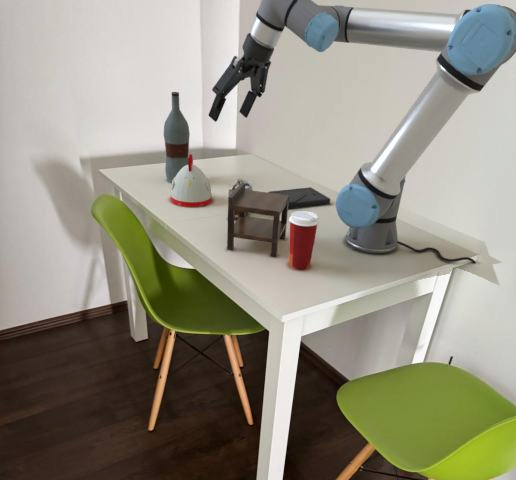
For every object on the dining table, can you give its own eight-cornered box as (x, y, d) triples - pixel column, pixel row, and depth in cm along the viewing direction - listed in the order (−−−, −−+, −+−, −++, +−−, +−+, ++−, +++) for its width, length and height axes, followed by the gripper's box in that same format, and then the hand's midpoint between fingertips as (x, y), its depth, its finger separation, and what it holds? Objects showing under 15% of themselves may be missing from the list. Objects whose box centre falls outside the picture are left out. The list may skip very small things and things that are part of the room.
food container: (246, 223, 159) (248, 192, 153) (227, 221, 160) (228, 189, 154) (254, 210, 169) (256, 180, 163) (236, 208, 170) (237, 178, 164)
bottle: (179, 175, 197) (176, 89, 180) (195, 180, 192) (194, 93, 175) (160, 179, 191) (155, 91, 173) (177, 185, 186) (173, 95, 169)
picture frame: (285, 209, 171) (329, 204, 178) (286, 203, 170) (330, 197, 177) (267, 197, 181) (310, 192, 188) (268, 190, 180) (310, 186, 187)
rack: (285, 238, 151) (289, 188, 143) (275, 257, 140) (280, 204, 131) (240, 231, 153) (241, 182, 145) (227, 249, 142) (228, 197, 134)
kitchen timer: (168, 206, 168) (166, 159, 159) (173, 192, 179) (171, 148, 171) (210, 207, 169) (210, 161, 160) (212, 194, 180) (212, 150, 172)
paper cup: (319, 266, 136) (325, 216, 128) (300, 274, 132) (306, 223, 124) (297, 256, 141) (302, 207, 133) (278, 264, 136) (282, 214, 128)
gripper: (279, 32, 135) (245, 105, 150) (219, 28, 118) (188, 111, 132) (298, 49, 134) (263, 121, 149) (241, 48, 116) (208, 129, 131)
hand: (228, 116), depth 141 cm, fingers open, 13 cm apart
